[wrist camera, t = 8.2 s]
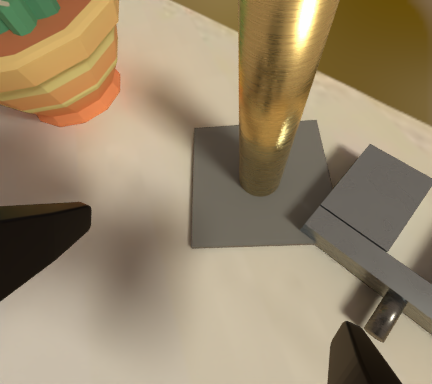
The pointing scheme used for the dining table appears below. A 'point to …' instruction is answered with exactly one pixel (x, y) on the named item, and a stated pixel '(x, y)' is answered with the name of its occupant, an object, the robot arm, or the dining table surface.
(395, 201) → the vise
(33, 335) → the dining table surface
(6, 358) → the dining table surface
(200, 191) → the rubber mat
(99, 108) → the potted cactus
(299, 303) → the dining table surface
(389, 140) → the dining table surface
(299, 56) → the brass rod
